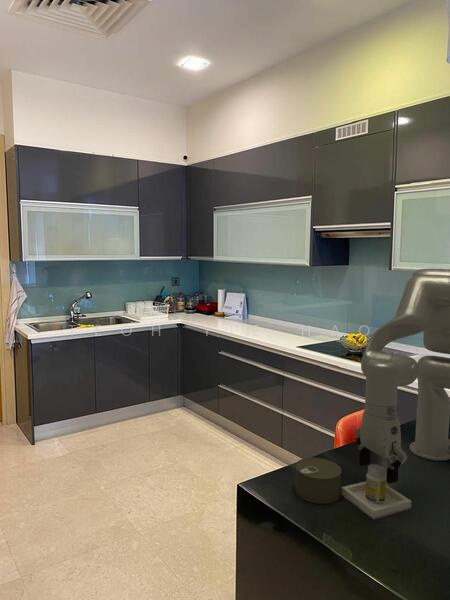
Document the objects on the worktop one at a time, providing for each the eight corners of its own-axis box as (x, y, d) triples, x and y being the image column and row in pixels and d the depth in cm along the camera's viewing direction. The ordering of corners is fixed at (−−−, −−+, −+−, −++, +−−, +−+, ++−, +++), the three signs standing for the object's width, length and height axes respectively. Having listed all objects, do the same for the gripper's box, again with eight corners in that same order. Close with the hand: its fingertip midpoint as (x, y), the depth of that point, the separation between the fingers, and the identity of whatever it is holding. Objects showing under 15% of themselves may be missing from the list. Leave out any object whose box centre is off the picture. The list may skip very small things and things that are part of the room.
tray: (376, 486, 122) (376, 478, 122) (410, 508, 111) (411, 500, 111) (341, 494, 117) (341, 487, 117) (373, 519, 106) (374, 511, 106)
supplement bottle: (382, 494, 116) (383, 463, 116) (387, 504, 112) (388, 472, 111) (363, 493, 117) (365, 462, 116) (367, 503, 112) (369, 471, 111)
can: (350, 497, 116) (351, 472, 115) (314, 509, 110) (315, 482, 110) (319, 477, 127) (320, 454, 126) (285, 486, 121) (286, 462, 120)
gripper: (419, 418, 106) (415, 486, 108) (368, 396, 121) (365, 456, 123) (395, 423, 103) (392, 493, 105) (345, 400, 118) (344, 461, 120)
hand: (377, 473), depth 114 cm, fingers open, 9 cm apart
